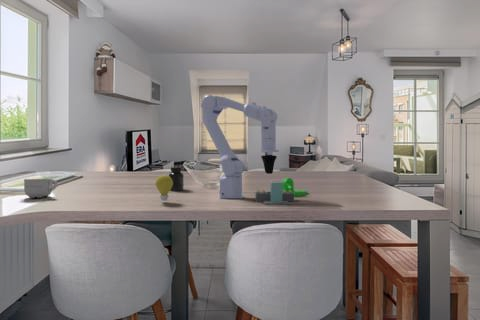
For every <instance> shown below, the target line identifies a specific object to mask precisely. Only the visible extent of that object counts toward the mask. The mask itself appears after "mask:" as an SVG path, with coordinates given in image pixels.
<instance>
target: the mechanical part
mask: <svg viewBox="0 0 480 320" xmlns="http://www.w3.org/2000/svg"><path fill="white" fill-rule="evenodd" d="M282 180H283V183H282V192H283V190H285V191H286V192H289V190H291V191H292V193H294V198H295V197H300V196H304V195H308V191H307V190H299V189H297V190H294V188H295V187H294V180H293V179H292V178H291V177H285V178H283V179H282Z"/></svg>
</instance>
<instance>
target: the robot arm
mask: <svg viewBox="0 0 480 320" xmlns="http://www.w3.org/2000/svg"><path fill="white" fill-rule="evenodd" d="M200 107H201V109H202V111H201V112H202V113H201V114H202V122H203V124H204V126H205V128H206V130H207V132H208V134H209V136H210V138H211V140H212V142H213V144H214V146H215V148H216V150H217V152H218V154H219V156H220V164H221V169H222V172H223V174H224V176H220V177H219V190H218V193H219V199H244V195H243V173H244V171H245V163H243V161H242V160H240V158H239V157H238V156H237V155H236V153H234V152H233V149H232V148H231V146H230V145H229V143H228V140H227V138H226V137H225V135H224V133H223V130H222V129H221V126H220V124H219V122H218V121H217V120H218V117H219V116H220V114H221V113H222V112H223V110H226V109H228V108H230V109H233V110H236V111H240V112H243V115H244V116H245V117H246V118H251V119H252V120H256V121H259V122H261V125H260V127H261V129H260V133H261V134H260V135H261V138H260V140H261V145H260V146H261V147H260V148H261V150H260V153H264V155H260V157H261V160H262V163H263V167H264V171H265V173H266V174H270V175H271V174H273V172H274V166H275V162H276V160H277V158H278V156H277V155H275V154H274V153H278V152H279V149H277V142H276V141H277V140H276V134H277V133H276V131H277V130H276V121H277V120H278V114H277V112H276V111H275V110H274V109H272V108H267V106H261V105H258V104H257V103H256V102H253V101H252V102H248V103H247V104H244V103H242V102H238V101H236V100H233V99H230V98H228V97H223V96H218V95H212V94H206V95H205V96H203V99H202V100H201V103H200ZM273 154H274V155H273Z"/></svg>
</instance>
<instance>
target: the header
mask: <svg viewBox="0 0 480 320" xmlns="http://www.w3.org/2000/svg"><path fill="white" fill-rule="evenodd" d="M254 192H255V194H254V196H255V197H254V198H255V202H256V203H257V202H259V203H260V202H261V203H262V202H263V201H270V191H266V190H264V189H263V190H262V191H260V190H259V189H256V191H254ZM282 201H288V202H289V203H291V202H295V197H294V193H292V191H291V190H289V192H286V191H285V190H283V192H282ZM263 203H264V202H263Z"/></svg>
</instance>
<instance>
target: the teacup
mask: <svg viewBox="0 0 480 320" xmlns="http://www.w3.org/2000/svg"><path fill="white" fill-rule="evenodd" d="M23 181H24V183H23V189H24V190H23V192H24V194H25V196H28V198H35V197H37V198H43V197H42V196H48V197H49V196H50V195H51V194H52V192H53V191H54V190H56V189H57V187H58V181H57V180H56V179H53V178H37V179H36V178H29V179H28V178H26V179H23Z"/></svg>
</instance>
